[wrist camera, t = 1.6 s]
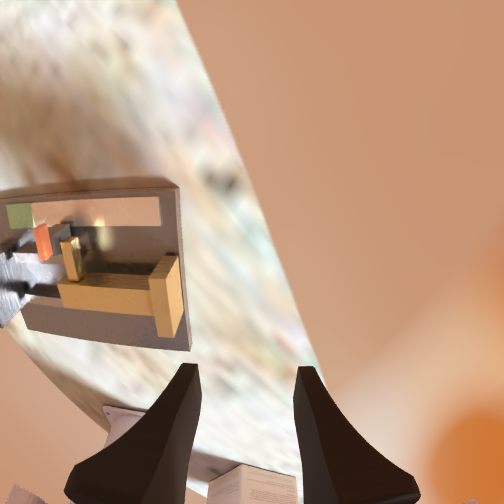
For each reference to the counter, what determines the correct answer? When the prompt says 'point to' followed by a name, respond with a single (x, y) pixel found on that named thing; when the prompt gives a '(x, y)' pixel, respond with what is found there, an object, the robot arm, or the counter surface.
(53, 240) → the orange and grey block
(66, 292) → the wooden u-shaped cradle
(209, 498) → the supplement box
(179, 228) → the gauge base
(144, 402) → the counter surface
